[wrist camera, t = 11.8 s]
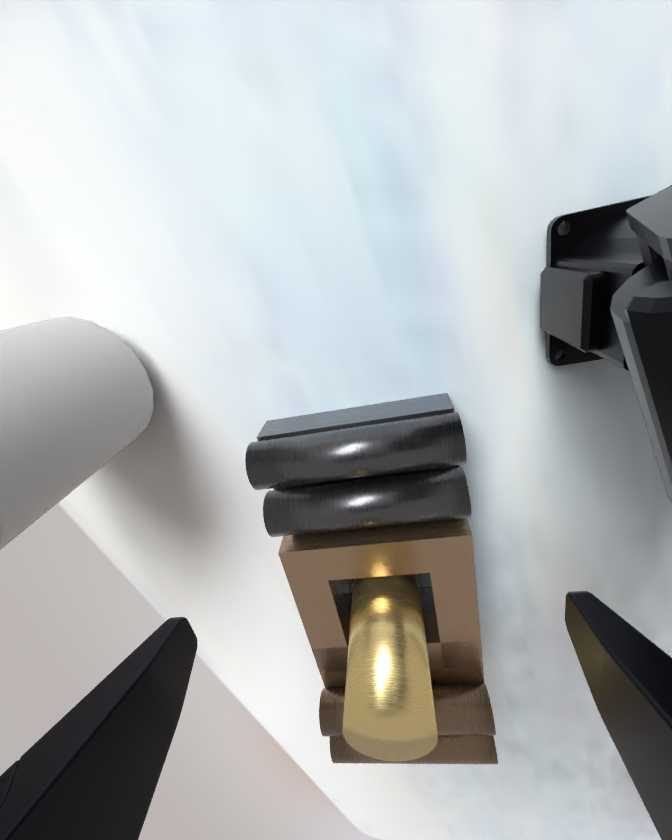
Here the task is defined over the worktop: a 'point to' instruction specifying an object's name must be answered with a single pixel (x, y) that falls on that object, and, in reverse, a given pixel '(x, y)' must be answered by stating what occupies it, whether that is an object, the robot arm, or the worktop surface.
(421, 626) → the brass pin
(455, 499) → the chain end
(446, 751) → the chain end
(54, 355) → the can
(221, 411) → the worktop surface
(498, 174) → the worktop surface
